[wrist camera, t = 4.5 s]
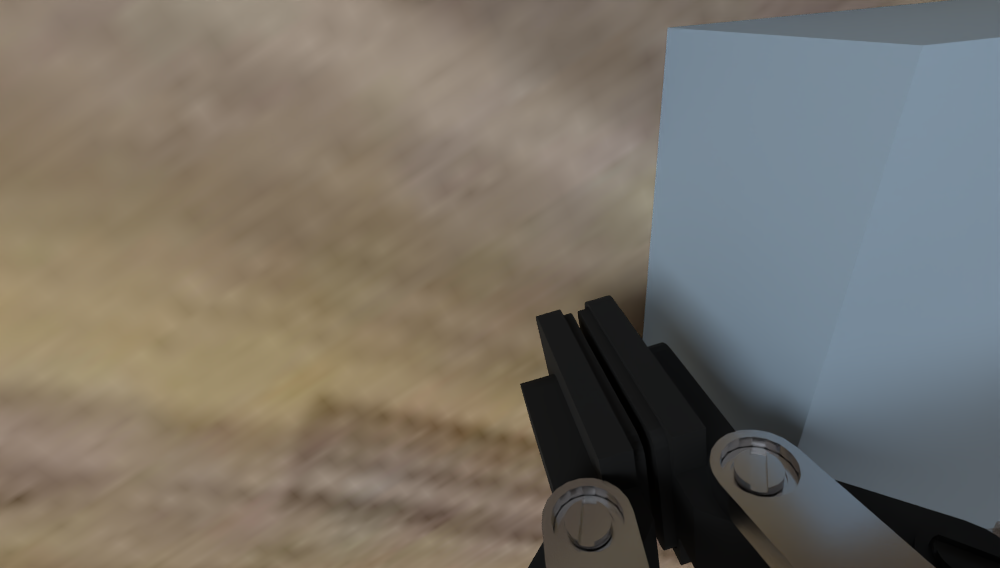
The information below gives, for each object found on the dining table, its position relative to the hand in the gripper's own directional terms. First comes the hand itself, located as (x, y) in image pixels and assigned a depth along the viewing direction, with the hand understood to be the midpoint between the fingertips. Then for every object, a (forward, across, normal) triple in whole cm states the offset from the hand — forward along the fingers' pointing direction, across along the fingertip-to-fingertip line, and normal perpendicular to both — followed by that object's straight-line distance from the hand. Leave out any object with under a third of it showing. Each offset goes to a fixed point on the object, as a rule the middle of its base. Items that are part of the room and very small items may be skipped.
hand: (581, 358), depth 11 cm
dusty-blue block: (+2, -8, 0) cm, 8 cm away
